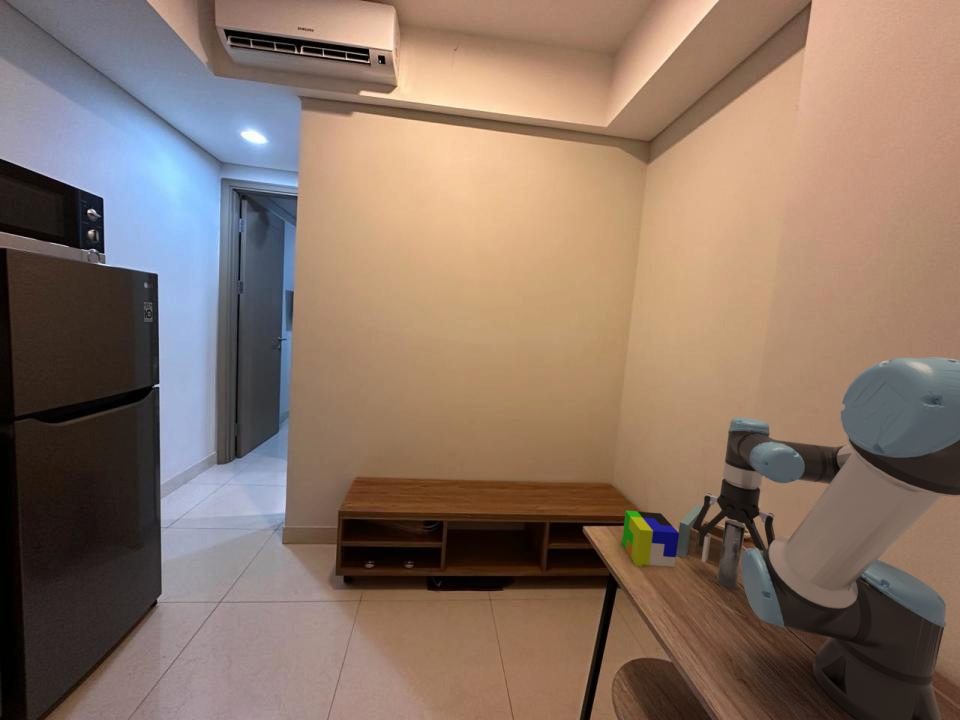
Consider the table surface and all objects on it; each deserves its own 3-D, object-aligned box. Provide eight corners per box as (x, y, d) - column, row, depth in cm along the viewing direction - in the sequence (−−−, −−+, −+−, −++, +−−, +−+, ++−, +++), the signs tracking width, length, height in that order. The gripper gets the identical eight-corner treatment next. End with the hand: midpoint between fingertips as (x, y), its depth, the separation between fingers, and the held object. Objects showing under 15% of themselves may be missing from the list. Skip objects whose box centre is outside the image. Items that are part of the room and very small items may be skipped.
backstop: (762, 596, 88) (768, 556, 87) (675, 556, 101) (679, 522, 100) (771, 568, 99) (777, 532, 98) (692, 536, 113) (696, 504, 112)
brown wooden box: (725, 569, 96) (729, 544, 95) (687, 553, 102) (690, 529, 102) (732, 556, 102) (736, 532, 102) (696, 541, 109) (699, 518, 108)
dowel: (734, 594, 88) (743, 530, 86) (715, 585, 90) (723, 523, 89) (737, 587, 90) (746, 525, 89) (718, 578, 93) (727, 518, 92)
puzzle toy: (674, 569, 96) (679, 532, 95) (635, 566, 96) (640, 529, 95) (656, 546, 106) (660, 513, 105) (621, 543, 106) (625, 510, 105)
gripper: (804, 495, 83) (789, 588, 85) (693, 464, 98) (683, 543, 100) (801, 505, 77) (785, 604, 79) (685, 471, 93) (674, 554, 95)
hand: (728, 570), depth 90 cm, fingers open, 10 cm apart
